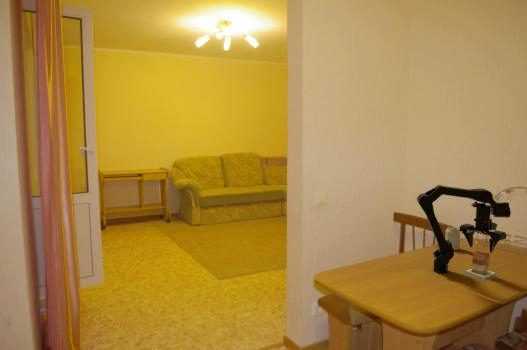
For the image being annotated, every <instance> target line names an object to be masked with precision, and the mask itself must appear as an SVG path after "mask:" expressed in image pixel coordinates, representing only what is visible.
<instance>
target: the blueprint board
mask: <svg viewBox="0 0 527 350" xmlns="http://www.w3.org/2000/svg"><path fill="white" fill-rule="evenodd" d="M460 274H463V275H467V276H469V277H472V278H475V279H478V280H481V281H484V282H488V281H490V280H492V279H495V278H497V277H500V276H501V274H499V273H496V272H494V271H491V270H489V274H487V275H485V276H482V275H479V274H476V273H473V272H472V267H471V268H469V269H466V270H463V271H461V272H460Z"/></svg>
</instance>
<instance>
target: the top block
mask: <svg viewBox="0 0 527 350" xmlns="http://www.w3.org/2000/svg"><path fill="white" fill-rule="evenodd" d="M490 259H491V253H490V252H485V251H482V250H477V251H473V252H472V262H471V263H474V264H477V265H481V266H485V265H488V264H489V265H490Z"/></svg>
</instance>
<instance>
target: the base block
mask: <svg viewBox="0 0 527 350" xmlns="http://www.w3.org/2000/svg"><path fill="white" fill-rule="evenodd" d="M471 263H472V262H471ZM471 268H472V272H473V273H476V274H479V275H482V276H485V275H487V274H489V271H490V263H489V264H488V265H485V266H481V265H477V264H474V263H472V265H471Z"/></svg>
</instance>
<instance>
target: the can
mask: <svg viewBox="0 0 527 350" xmlns="http://www.w3.org/2000/svg"><path fill="white" fill-rule="evenodd" d="M459 228H460V227H459ZM459 228H458V227H455V226H447V227H446V229H445V236H444V237H445V240H448V239H449V241H450V242H451V243H452V247H453V249H454V250H455V251H459V249H460V247H461V233H462V231H459Z"/></svg>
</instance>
